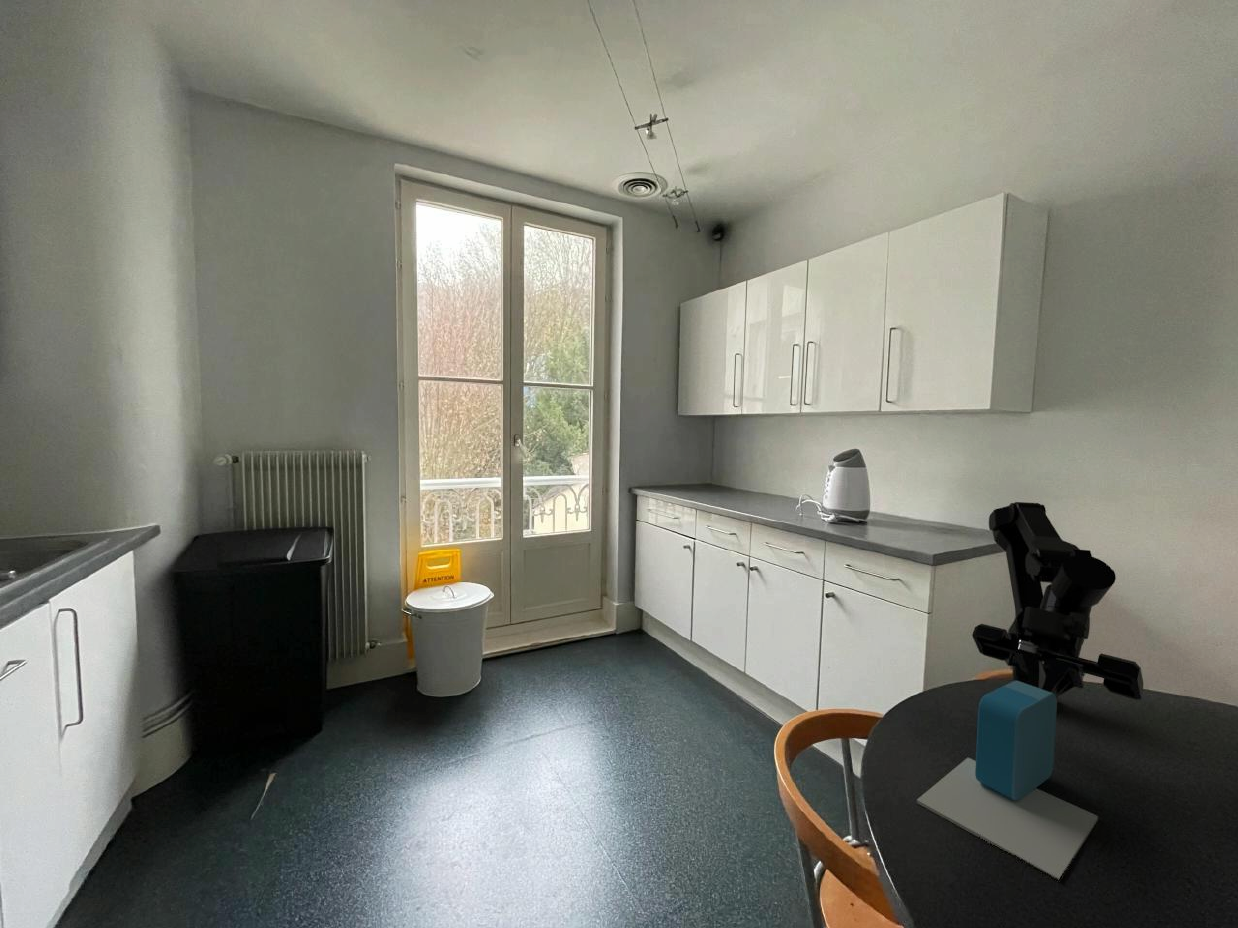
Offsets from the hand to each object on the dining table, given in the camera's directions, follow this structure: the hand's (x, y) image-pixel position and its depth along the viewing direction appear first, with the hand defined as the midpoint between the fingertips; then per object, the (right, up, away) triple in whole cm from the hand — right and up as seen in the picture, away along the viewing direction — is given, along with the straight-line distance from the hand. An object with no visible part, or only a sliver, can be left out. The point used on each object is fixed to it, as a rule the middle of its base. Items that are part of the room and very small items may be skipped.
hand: (1036, 708), depth 70 cm
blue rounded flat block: (-6, -8, -3) cm, 11 cm away
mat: (-11, -9, -8) cm, 16 cm away
